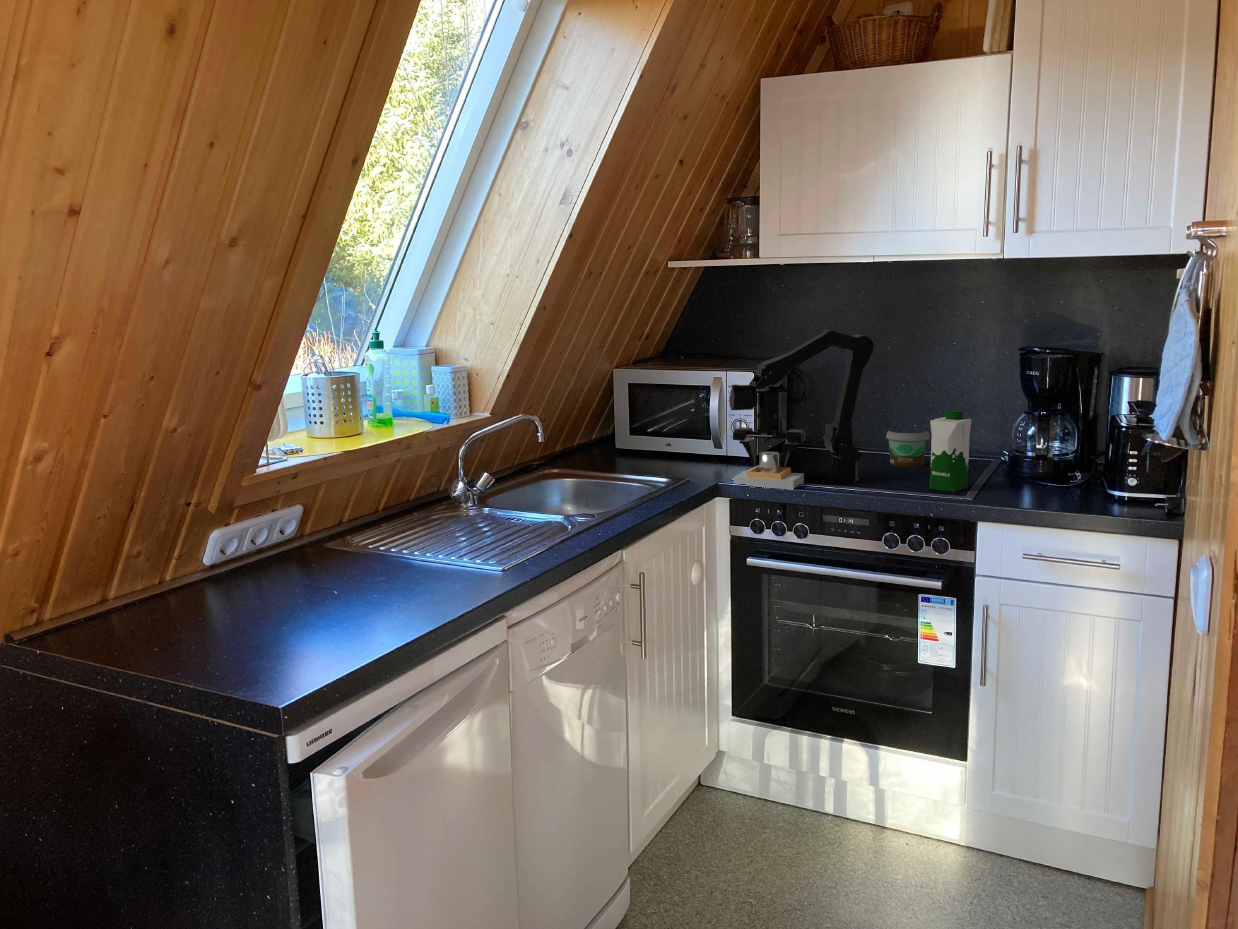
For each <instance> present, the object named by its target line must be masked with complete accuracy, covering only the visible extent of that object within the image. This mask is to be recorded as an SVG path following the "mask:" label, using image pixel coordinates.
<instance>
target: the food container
mask: <svg viewBox="0 0 1238 929" xmlns="http://www.w3.org/2000/svg"><path fill="white" fill-rule="evenodd" d="M885 438H886V439H888V448H889V460H890V465H891V466H893V467H899V468H919V467H923V466H924V464H925V457H926V451H927V442H928V440H929V439H930V433H929V431H928V430H927V431H925V432H918V433H916V432H909V431H908V432H894V431H890V430H888V431H887V432H886V436H885Z"/></svg>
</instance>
